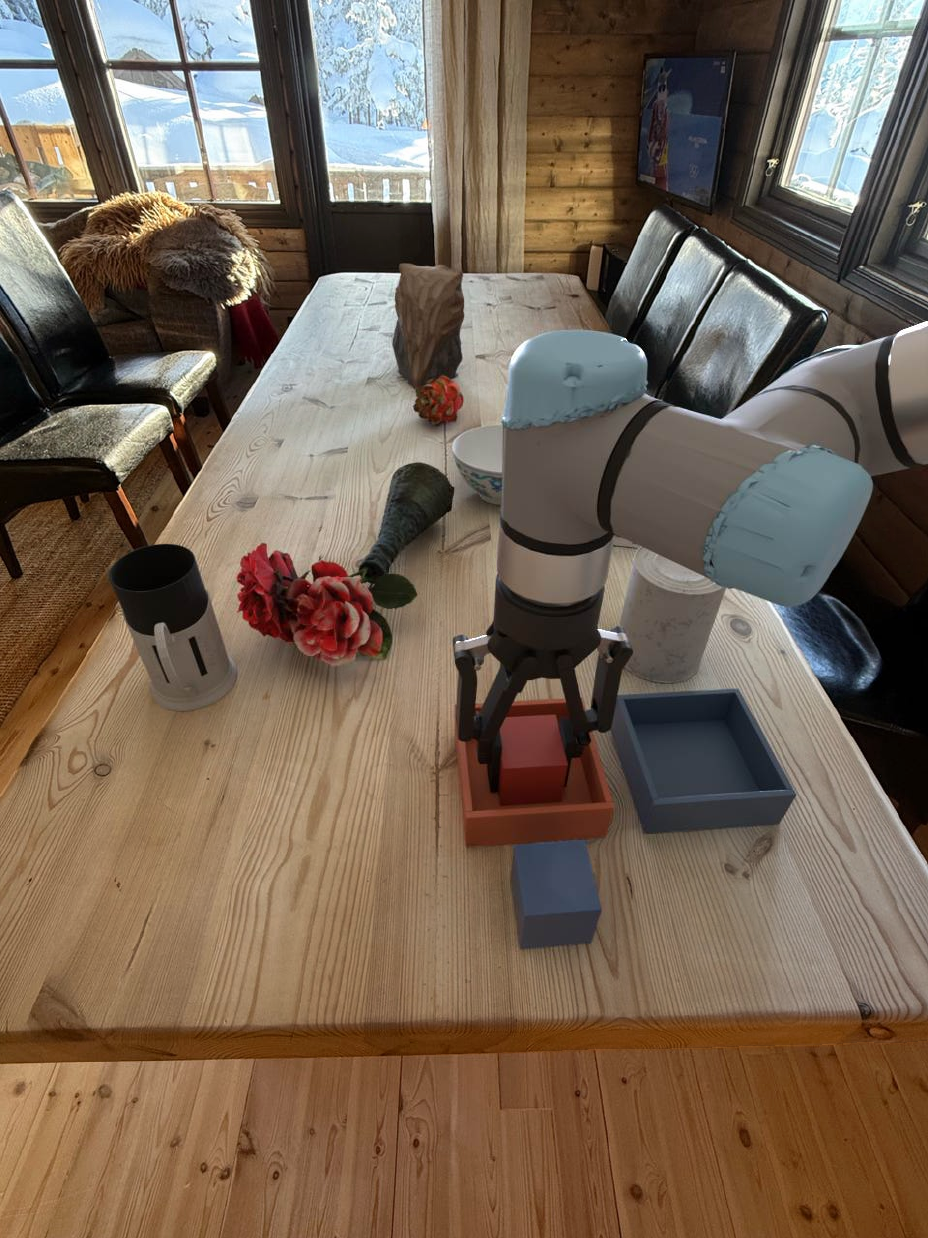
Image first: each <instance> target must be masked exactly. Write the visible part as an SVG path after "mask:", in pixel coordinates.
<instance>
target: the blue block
mask: <svg viewBox="0 0 928 1238" xmlns="http://www.w3.org/2000/svg"><path fill="white" fill-rule="evenodd" d="M509 883H510V890H511V898H512V904H513V910H514V917H515V924H516V925H515V926H516V931H517V938H518V946H519V949H520V950H525V949H538V948H547V947H548V948H549V947H563V946H574V945H584V944H592V943H593V939H594V936H595V933H596V930H597V928H598V927H597V926H598V924H599V920H600V918H601V914H602V911H603V907H602V904H601V900H600V896H599V891H598V887H597V884H596V880H595V877H594V871H593V867H592V863H591V859H590V855H589V851H588V847H587V843H586V840H585V839H572V840H559V841H545V842H532V843H518V844H513V850H512V859H511V869H510V877H509Z"/></svg>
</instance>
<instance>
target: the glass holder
mask: <svg viewBox="0 0 928 1238" xmlns="http://www.w3.org/2000/svg"><path fill="white" fill-rule="evenodd" d="M200 571H201V570H200V568H199V565H198V562H197V559H196V556H195V554H194V552H193V551H192V550H191V549H189V548H188V547H186V546H183V545H180V544H175V543H157V544H150V545H146V546H142V547H139V548H137V549H134V550H131V551H129V552H128V553H126V554H124V555H123V556H121V557H120V558H119V559H117V560H116V561H115V562H114V564H113V565H111V567H110V569H109V573H108V578H109V583H110V585H111V587H112V589H113V591H114V594H115V596H116V598H117V600H118V603H119V605H120V607H121V610H122V616H123V619H124V622H125V625H126V626H127V628H128V631H129V634H130V636H131V638H132V640H133V642H134V645H135V647H136V649H137V652H138V654H139V656H140V658H141V662H142V663H143V665H144V667H145V670H146V672H147V674H148V677H149V679H150V682H151V685H150V686H151V687H150V690H151V695H152V698H153V700H154V701H155V702H156V704H157V705H159V706H160V707H162V708H164V709H166V710H168V711H176V712H191V711H195V710H199V709H203V708H207V707H209V706H211V705H213V704H215V703H216V702H218V701H220V700H221V699H223V698H224V697H225V696H226V695H227V694H228V693H229V692H230V691H231V690H232V688H233V687H234V685H235V684H236V681H237V679H238V668H237V665H236V663H235V662H234V660H233V659H232V658H231V657H230V656H229V654H228V650H227V647H226V644H225V641H224V639H223V634H222V632H221V629H220V626H219V622H218V618H217V616H216V613H215V609H214V607H213V604H212V600H211V597H210V593H209V591H208V589H207V588H206V587H205V584H204V580H203V577H202V575H201V572H200Z"/></svg>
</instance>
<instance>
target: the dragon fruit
mask: <svg viewBox="0 0 928 1238" xmlns="http://www.w3.org/2000/svg"><path fill="white" fill-rule="evenodd" d="M414 389H415V388H414ZM414 392H415V397H416V398H415V400H414V404H413V406H412V408H413V412H414V413H418V417H419V418H420V419H422V420H427V421H428V423H429V424H431V425H433V426H435V427H439V426H440V425H442V424H443V422H447V423H451V422H452V423H455V422H457V420H458V412H459V410H461V409H462V408H463V405H464V401H465V399H464V395H463V394H462V392H461V389H460V387H459V385H458V384H457V383H456V382H455V380H453V379H449V378H448V377H446V376H440V377H439V378H438V380H437V379H435V378H433V379H431V380H429V381H427V382H426V384H425V386H420V387H417V388H416V389H415V390H414Z"/></svg>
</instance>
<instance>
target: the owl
mask: <svg viewBox="0 0 928 1238" xmlns="http://www.w3.org/2000/svg"><path fill="white" fill-rule="evenodd" d="M398 270H399V273H400V276H399V278H398V279H399V280H398V283H397V287H396V288H395V293H394V303H395V304H394V308H395V313H396V316H397V320H396V325H395V328H394V330H393V331H394V334H393V337H392V342H391V345H392V349H393V353H394V357H395V361H396V366H397V372H398V373H399V375H401V377H402V378H404V379H405V381H407V384H408V385H409V386H411V387H412V388H413V389H416V388H417V387H420V386H425V384H426V382H427V381H429V380H431V379H433V378H435V379H437V380H438V378H439V377H440V376H446V377H448V378H449V379H450V380H453V379H456V378H457V377H458V376H459V373H458V372H457V371H458V368H459V366H460V364H461V363H462V362H463V352H462V340H461V329H462V325H463V323H464V320H465V311H464V310H465V295H464V294H463V293H464V292H463V286H462V282H463V277H464V271H463V270H455V269H452V268H450V267H448V266H446V265H444V264H437V265H434V266H429V265H426V266H421V265H419V266H418V265H415V264H412V263H400V264H399V265H398Z"/></svg>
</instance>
